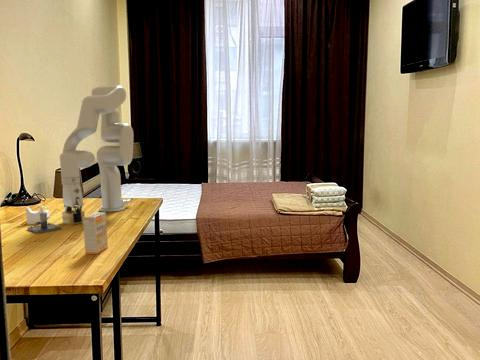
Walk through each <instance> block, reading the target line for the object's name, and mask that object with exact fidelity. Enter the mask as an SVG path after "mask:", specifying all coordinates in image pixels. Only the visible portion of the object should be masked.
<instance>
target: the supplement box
mask: <svg viewBox="0 0 480 360" xmlns="http://www.w3.org/2000/svg"><path fill="white" fill-rule="evenodd" d="M82 224H83V235H84V237H83V239H84V240H83V241H84V251H85V252H84V253H85V255H99V254H100V253H102V252H103V251H104V250H106V249H108V245H109V244H108V233H107V232H108V230H107V215H106V212H102V211H96V212H92V213H90V214H87V215H85V217H83V223H82Z"/></svg>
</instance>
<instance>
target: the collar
mask: <svg viewBox="0 0 480 360" xmlns="http://www.w3.org/2000/svg"><path fill="white" fill-rule="evenodd" d="M81 211H82V212H81V218H82V221H81V222H77V223H75V222H74V214H75V213H74V210H73V209H72V210H70V211H65V210H64V211H62V212H61V217H62V224H65V225H67V226H74V225H79V224H83V217H85V216H86V215H85V214H86V213H85V210H81Z"/></svg>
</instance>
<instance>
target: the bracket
mask: <svg viewBox="0 0 480 360" xmlns="http://www.w3.org/2000/svg"><path fill="white" fill-rule="evenodd" d="M43 212H46V213H47V219H48V218H49V217H50V216H51V213H50V209H46V210H45V206H44V205H41V206H40V209H39V210H32V209H31V208H30V206H27V207H25V215H26V224H27V225H35V224H38V223H41V222H40V213H43Z"/></svg>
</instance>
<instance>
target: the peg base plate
mask: <svg viewBox="0 0 480 360" xmlns="http://www.w3.org/2000/svg"><path fill="white" fill-rule="evenodd" d="M39 223H40V224H39V225H31V226H29V227H27V230H28V231H29V232H32V233H34V234H37V235H38V234H43V233H49V232H54V231H58V230H59V231H60V230H62V227H61V226H60V225H58V224H54V223H51V222H48V218H47V213H46V212H43V213H40V222H39Z"/></svg>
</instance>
